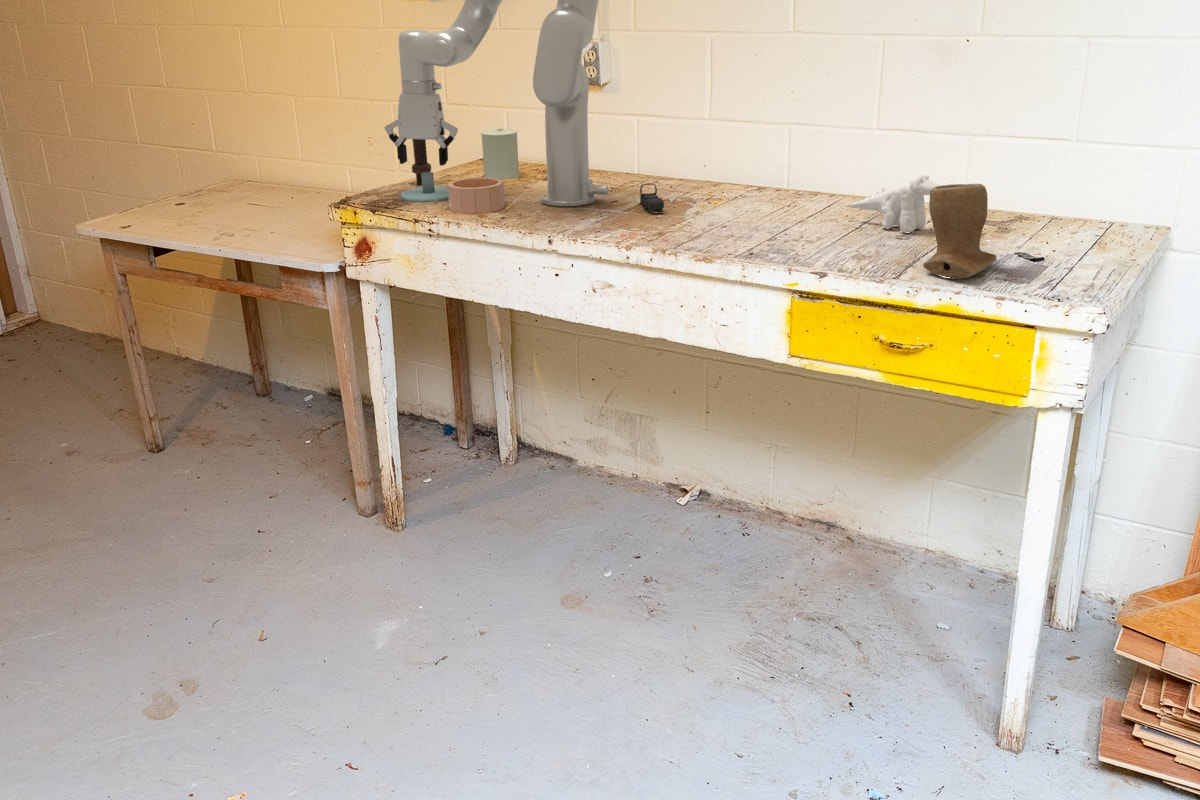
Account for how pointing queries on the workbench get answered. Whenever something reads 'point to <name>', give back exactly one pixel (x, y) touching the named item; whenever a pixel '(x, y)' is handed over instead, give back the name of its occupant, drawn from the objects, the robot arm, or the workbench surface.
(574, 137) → the robot arm
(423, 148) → the bolt
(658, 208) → the reflex sight
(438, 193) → the lid
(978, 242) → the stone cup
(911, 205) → the white dinosaur figurine
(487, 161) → the can
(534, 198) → the workbench surface
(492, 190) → the bowl
